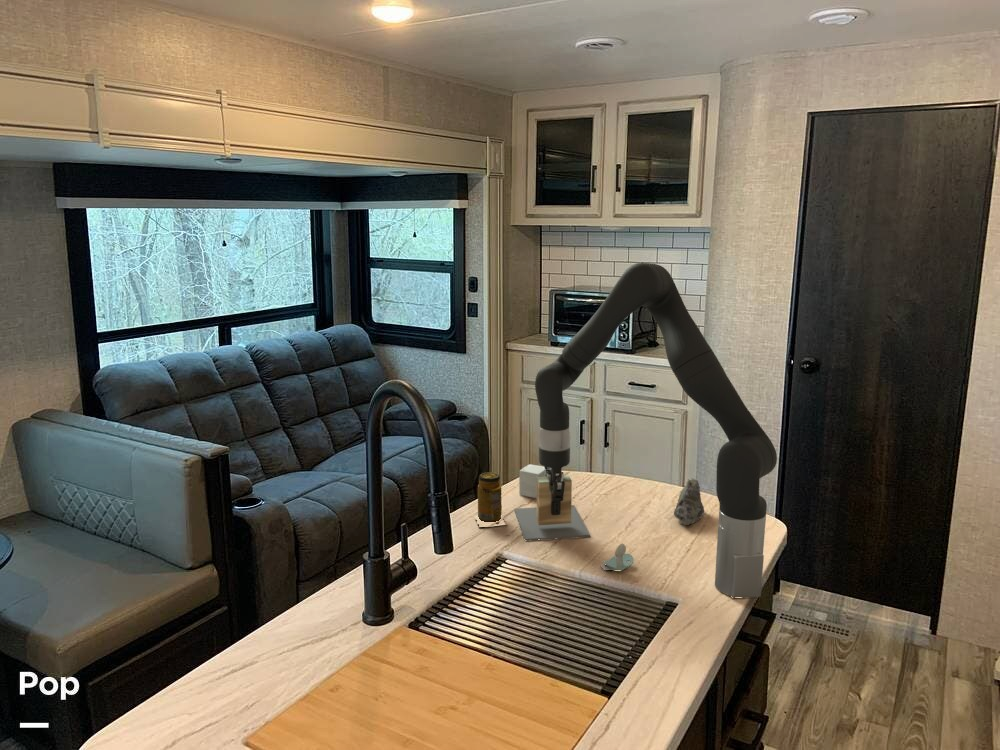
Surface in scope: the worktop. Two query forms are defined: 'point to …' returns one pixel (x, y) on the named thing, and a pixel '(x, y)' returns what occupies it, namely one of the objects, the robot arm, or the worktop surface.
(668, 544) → the worktop surface
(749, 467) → the robot arm
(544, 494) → the block
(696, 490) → the mineral rock
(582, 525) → the mat
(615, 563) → the pacifier
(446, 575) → the worktop surface
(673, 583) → the worktop surface
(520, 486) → the product box
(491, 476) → the condiment
